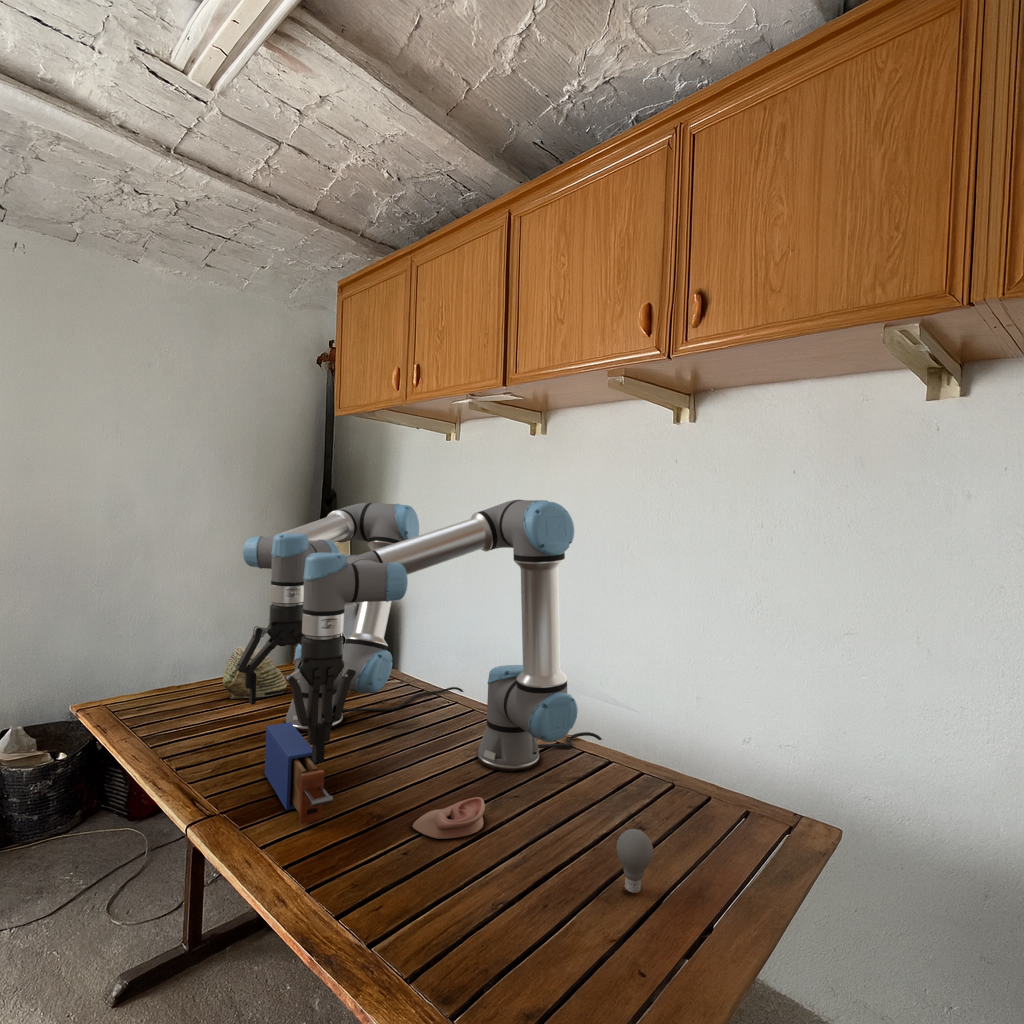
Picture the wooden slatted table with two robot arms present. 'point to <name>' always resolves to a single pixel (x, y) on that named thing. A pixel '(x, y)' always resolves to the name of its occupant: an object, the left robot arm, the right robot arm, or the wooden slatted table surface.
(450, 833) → the anatomical model
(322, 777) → the drawer
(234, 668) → the fossil
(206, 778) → the wooden slatted table surface
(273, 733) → the cabinet
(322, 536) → the left robot arm
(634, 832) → the light bulb
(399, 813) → the wooden slatted table surface
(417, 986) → the wooden slatted table surface
